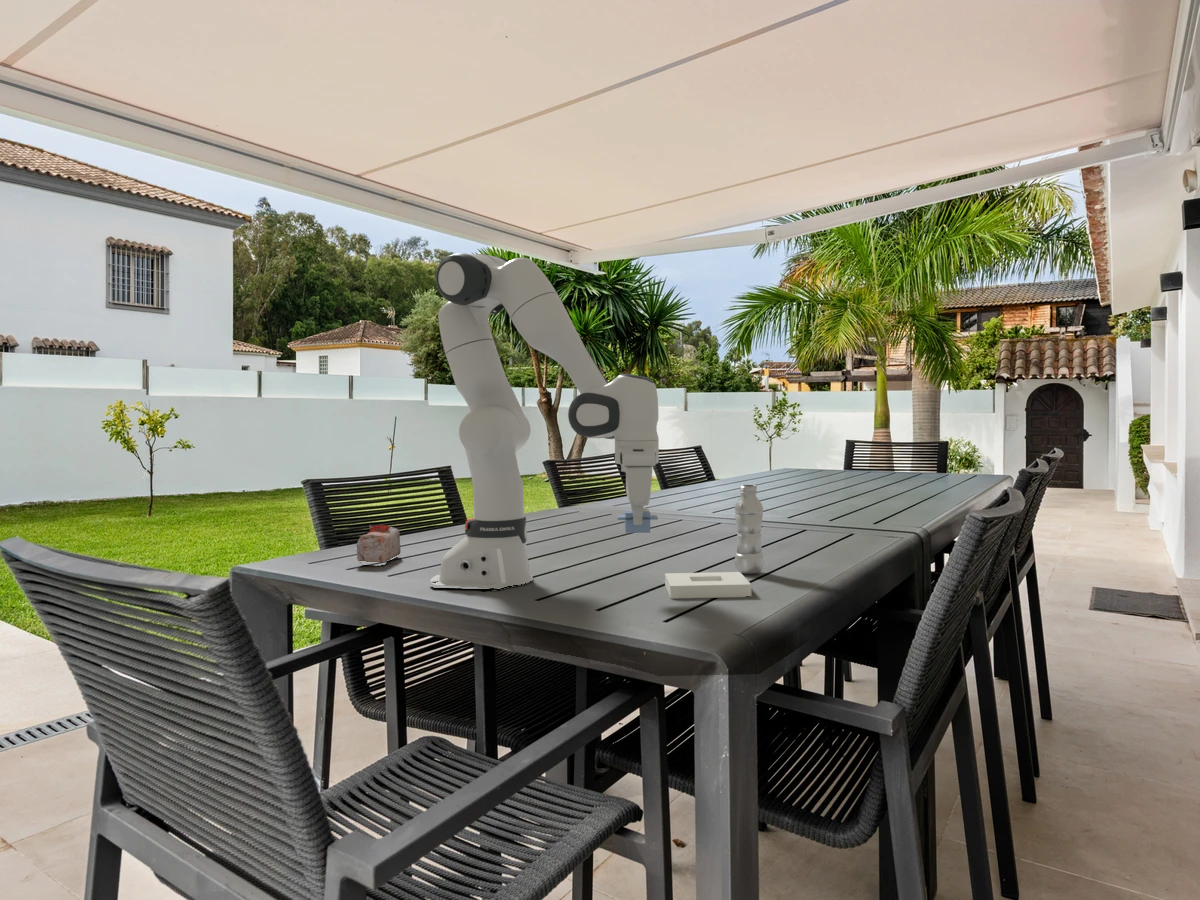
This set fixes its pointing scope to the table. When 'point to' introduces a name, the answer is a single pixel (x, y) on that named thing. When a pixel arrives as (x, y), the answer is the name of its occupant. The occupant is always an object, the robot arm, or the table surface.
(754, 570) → the plastic bottle
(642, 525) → the servo
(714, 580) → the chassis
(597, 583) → the table surface
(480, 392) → the robot arm
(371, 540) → the food item
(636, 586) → the table surface
